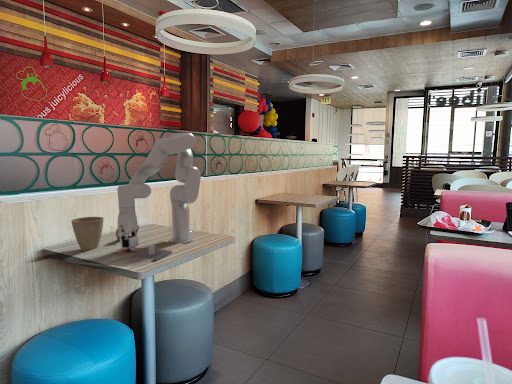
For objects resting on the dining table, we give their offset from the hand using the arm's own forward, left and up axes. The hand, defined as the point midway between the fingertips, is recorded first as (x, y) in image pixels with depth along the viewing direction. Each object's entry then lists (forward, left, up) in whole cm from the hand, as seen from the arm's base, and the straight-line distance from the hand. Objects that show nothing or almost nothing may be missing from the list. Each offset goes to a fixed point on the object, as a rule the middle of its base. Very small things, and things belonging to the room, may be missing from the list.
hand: (129, 245), depth 173 cm
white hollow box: (0, 0, -1) cm, 1 cm away
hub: (+2, +14, -4) cm, 14 cm away
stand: (+1, 0, -4) cm, 4 cm away
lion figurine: (-17, -17, -4) cm, 24 cm away
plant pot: (+2, -23, -4) cm, 24 cm away
